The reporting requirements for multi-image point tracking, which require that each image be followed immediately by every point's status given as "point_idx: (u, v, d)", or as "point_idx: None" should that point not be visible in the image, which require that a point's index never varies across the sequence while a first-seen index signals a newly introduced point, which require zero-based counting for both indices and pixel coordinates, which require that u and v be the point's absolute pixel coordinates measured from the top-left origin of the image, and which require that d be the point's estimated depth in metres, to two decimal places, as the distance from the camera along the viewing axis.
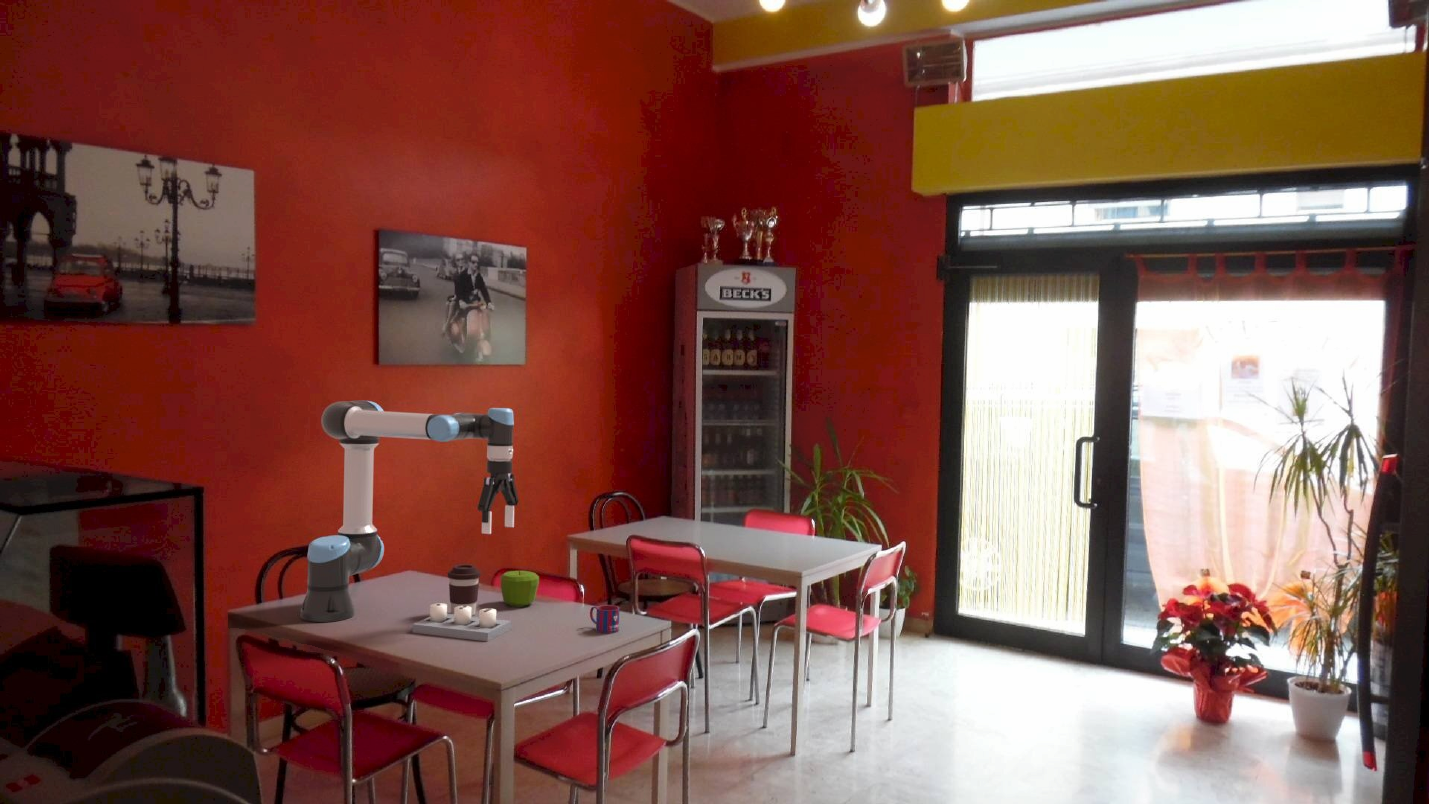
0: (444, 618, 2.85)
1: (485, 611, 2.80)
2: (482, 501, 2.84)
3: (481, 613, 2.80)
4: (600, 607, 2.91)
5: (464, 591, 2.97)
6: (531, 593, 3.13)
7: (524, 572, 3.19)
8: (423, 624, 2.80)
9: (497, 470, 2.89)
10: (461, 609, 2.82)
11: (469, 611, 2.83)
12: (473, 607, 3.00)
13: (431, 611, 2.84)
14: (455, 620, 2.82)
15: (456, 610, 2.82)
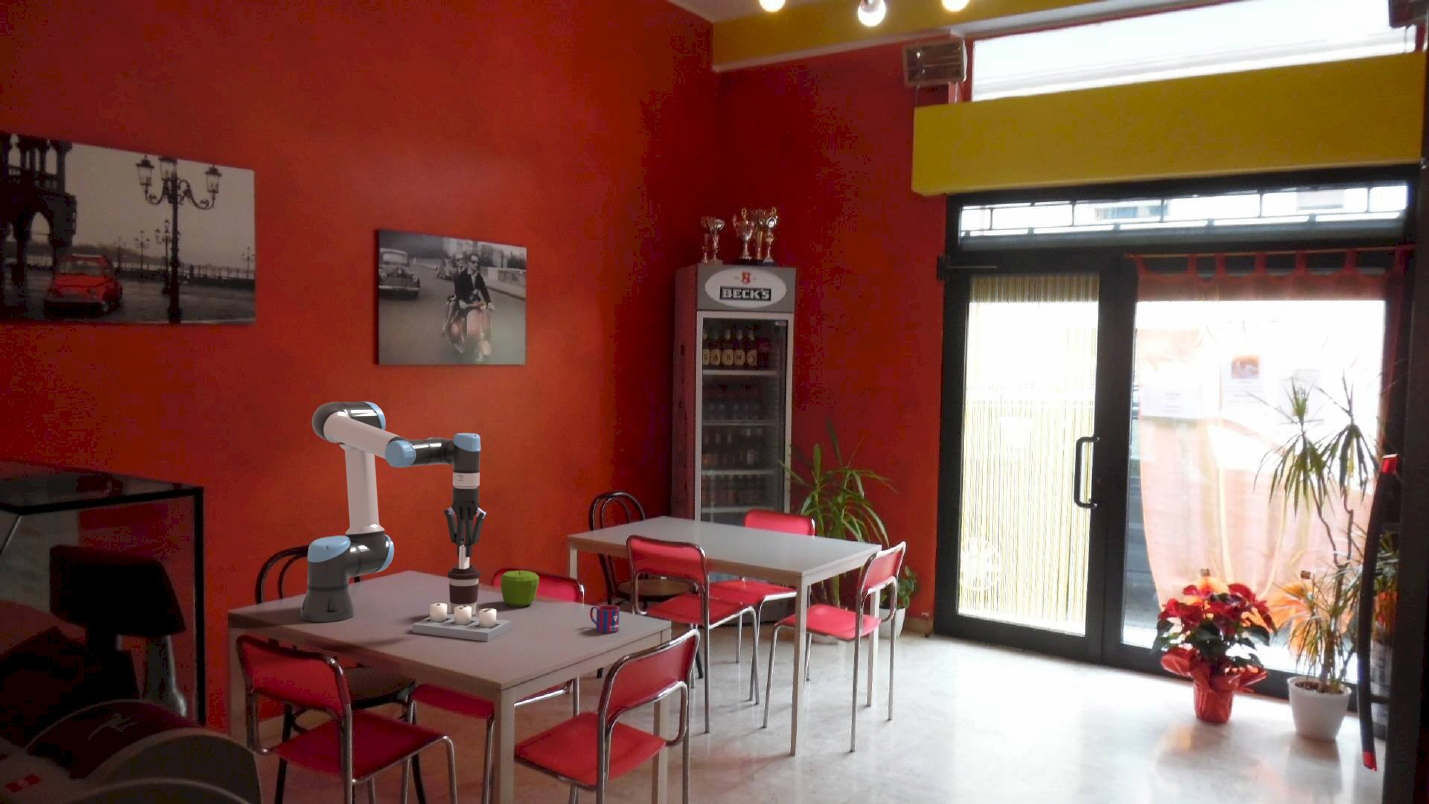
0: (444, 618, 2.85)
1: (485, 611, 2.80)
2: None
3: (481, 613, 2.80)
4: (600, 607, 2.91)
5: (464, 591, 2.97)
6: (531, 593, 3.13)
7: (524, 572, 3.19)
8: (423, 624, 2.80)
9: None
10: (461, 609, 2.82)
11: (469, 611, 2.83)
12: (473, 607, 3.00)
13: (431, 611, 2.84)
14: (455, 620, 2.82)
15: (456, 610, 2.82)
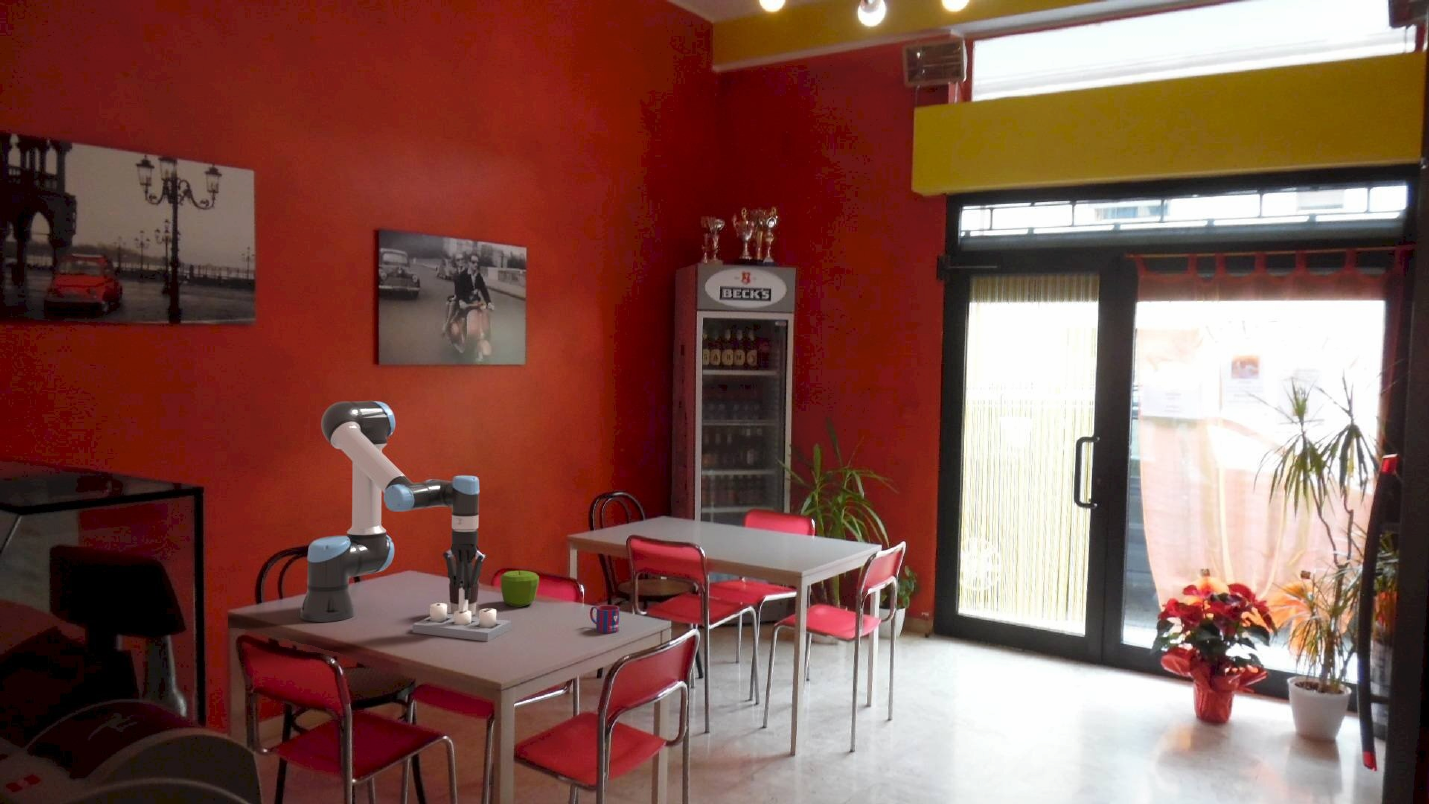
0: (444, 618, 2.85)
1: (485, 611, 2.80)
2: None
3: (481, 613, 2.80)
4: (600, 607, 2.91)
5: None
6: (531, 593, 3.13)
7: (524, 572, 3.19)
8: (423, 624, 2.80)
9: None
10: (461, 613, 2.82)
11: (469, 615, 2.83)
12: (473, 607, 3.00)
13: (431, 611, 2.84)
14: (455, 624, 2.82)
15: (456, 614, 2.82)
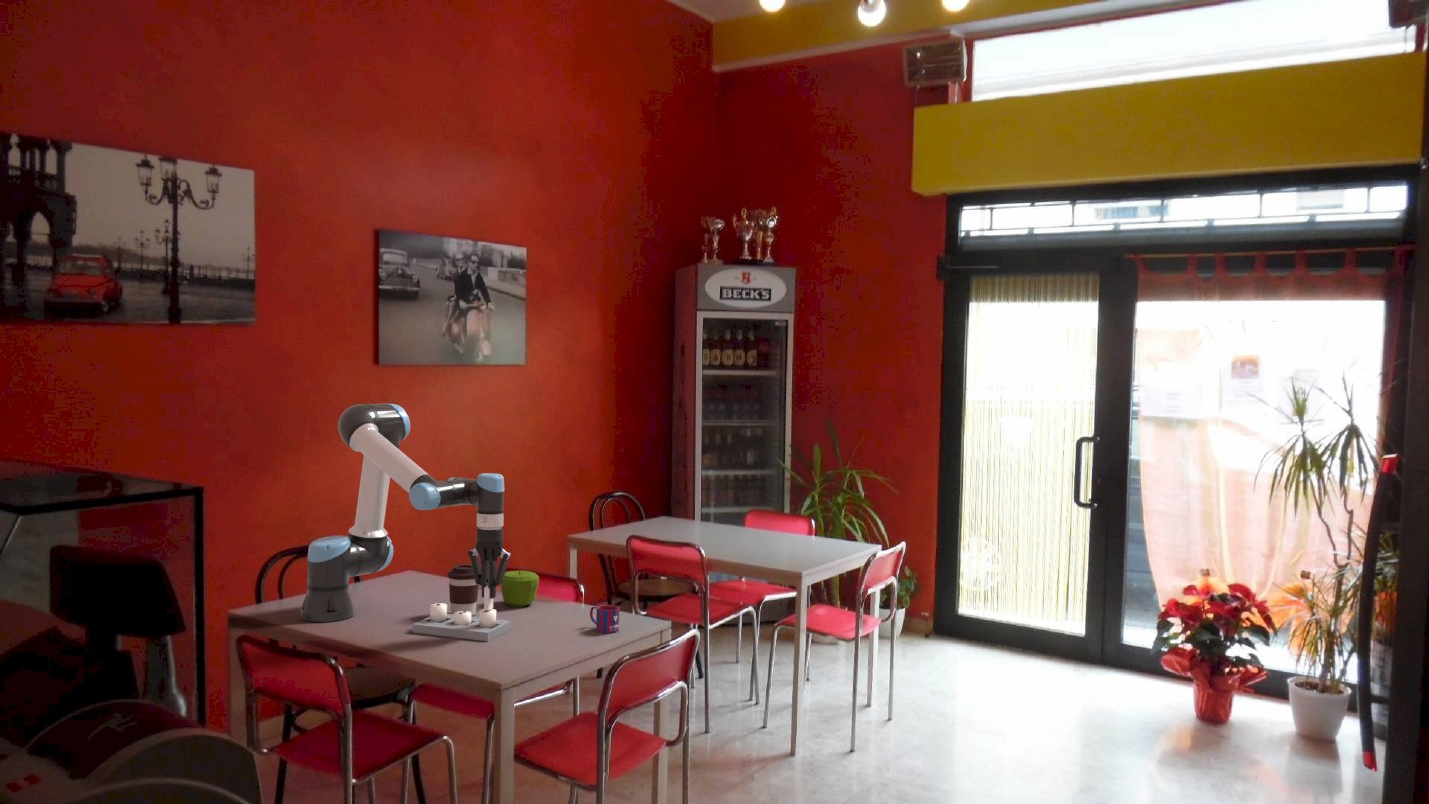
0: (444, 618, 2.85)
1: (485, 611, 2.80)
2: None
3: (481, 613, 2.80)
4: (600, 607, 2.91)
5: (464, 591, 2.97)
6: (531, 593, 3.13)
7: (524, 572, 3.19)
8: (423, 624, 2.80)
9: (476, 537, 2.80)
10: (461, 614, 2.82)
11: (469, 616, 2.83)
12: (473, 607, 3.00)
13: (431, 611, 2.84)
14: None
15: (456, 615, 2.82)
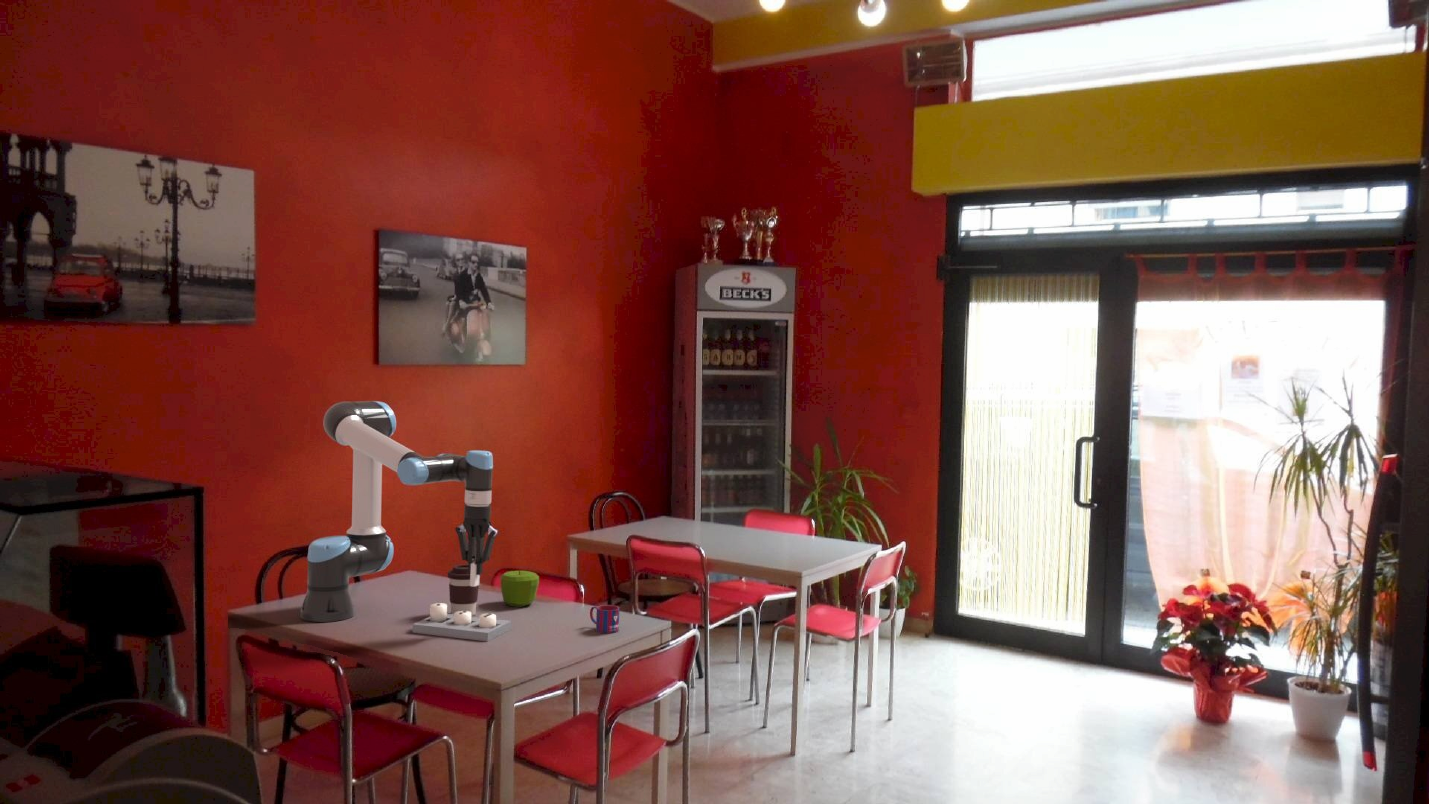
0: (444, 618, 2.85)
1: (485, 616, 2.80)
2: None
3: (481, 618, 2.80)
4: (600, 607, 2.91)
5: (464, 591, 2.97)
6: (531, 593, 3.13)
7: (524, 572, 3.19)
8: (423, 624, 2.80)
9: None
10: (461, 614, 2.82)
11: (469, 616, 2.83)
12: (473, 607, 3.00)
13: (431, 611, 2.84)
14: None
15: (456, 615, 2.82)
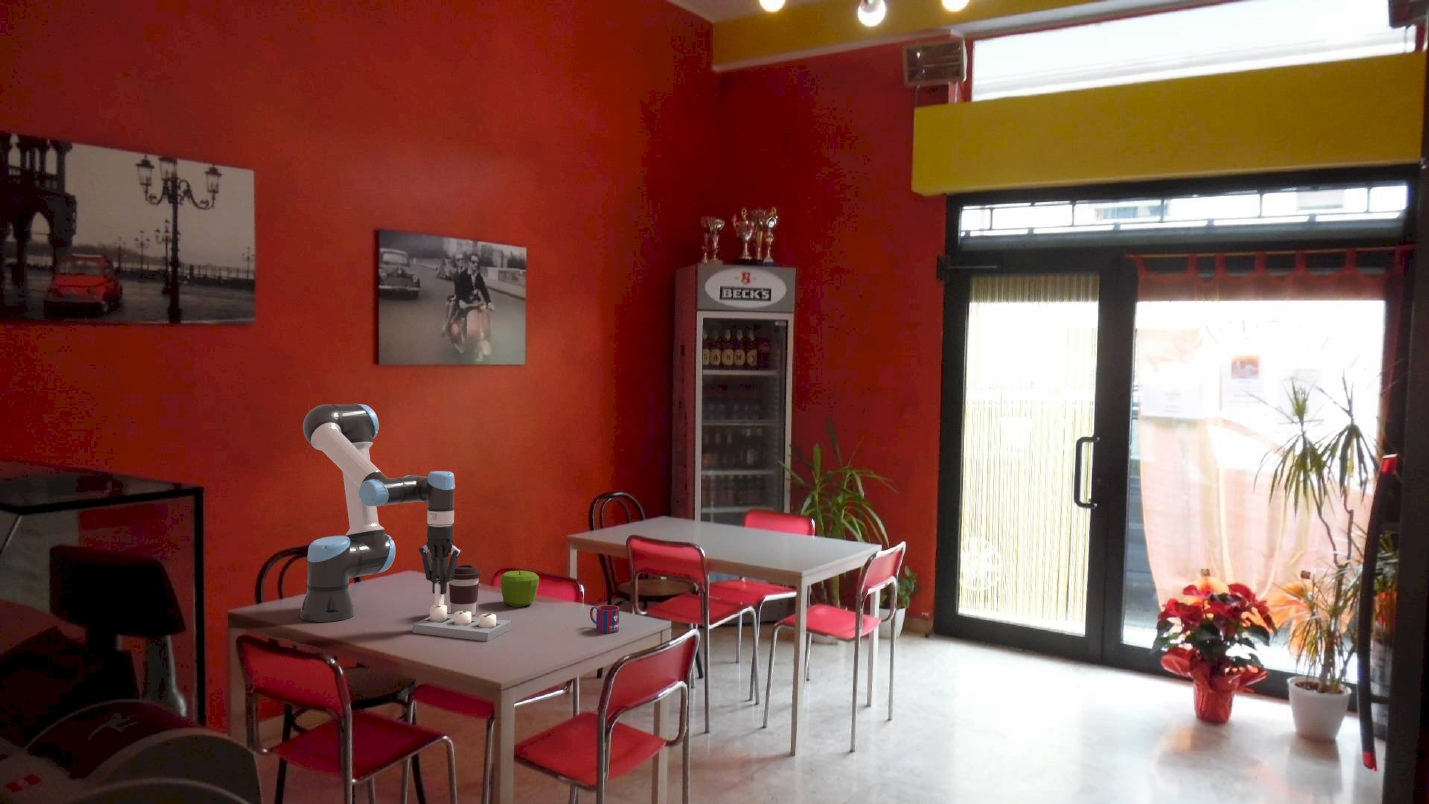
0: (444, 620, 2.85)
1: (485, 616, 2.80)
2: None
3: (481, 618, 2.80)
4: (600, 607, 2.91)
5: (464, 591, 2.97)
6: (531, 593, 3.13)
7: (524, 572, 3.19)
8: (423, 624, 2.80)
9: None
10: (461, 614, 2.82)
11: (469, 616, 2.83)
12: (473, 607, 3.00)
13: (431, 613, 2.84)
14: None
15: (456, 615, 2.82)
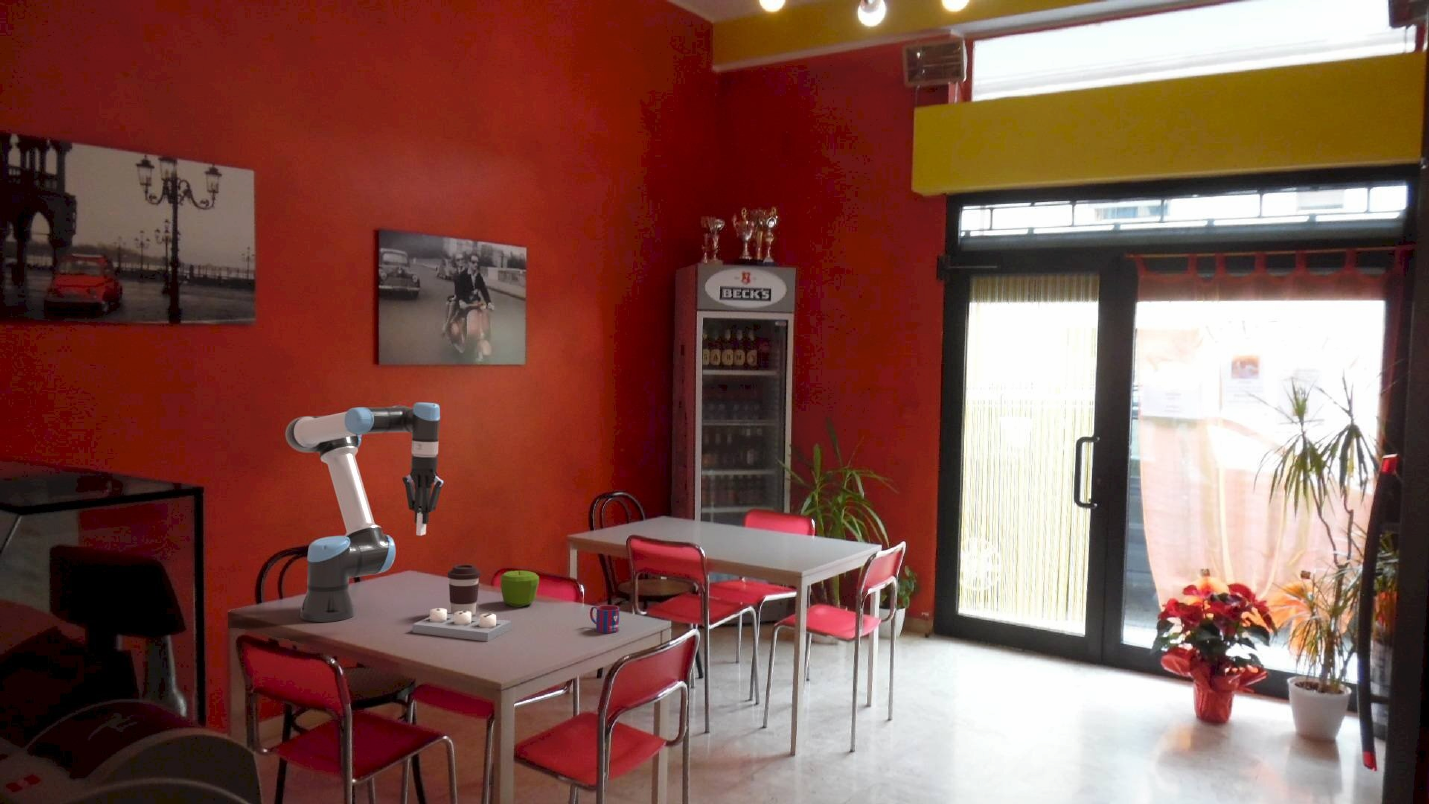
0: None
1: (485, 616, 2.80)
2: None
3: (481, 618, 2.80)
4: (600, 607, 2.91)
5: (464, 591, 2.97)
6: (531, 593, 3.13)
7: (524, 572, 3.19)
8: (423, 624, 2.80)
9: None
10: (461, 614, 2.82)
11: (469, 616, 2.83)
12: (473, 607, 3.00)
13: (431, 616, 2.84)
14: None
15: (456, 615, 2.82)
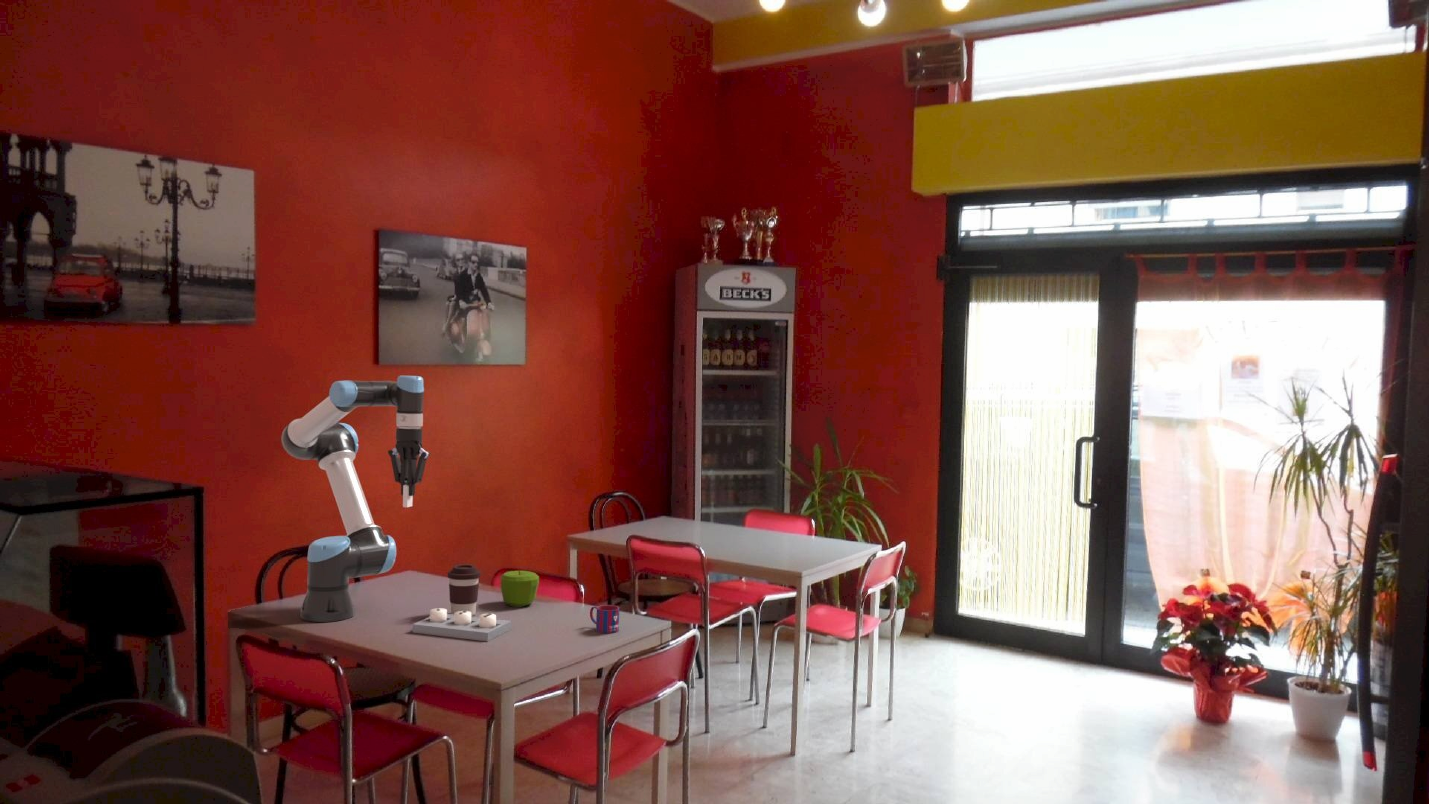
0: None
1: (485, 616, 2.80)
2: None
3: (481, 618, 2.80)
4: (600, 607, 2.91)
5: (464, 591, 2.97)
6: (531, 593, 3.13)
7: (524, 572, 3.19)
8: (423, 624, 2.80)
9: None
10: (461, 614, 2.82)
11: (469, 616, 2.83)
12: (473, 607, 3.00)
13: (431, 616, 2.84)
14: None
15: (456, 615, 2.82)
